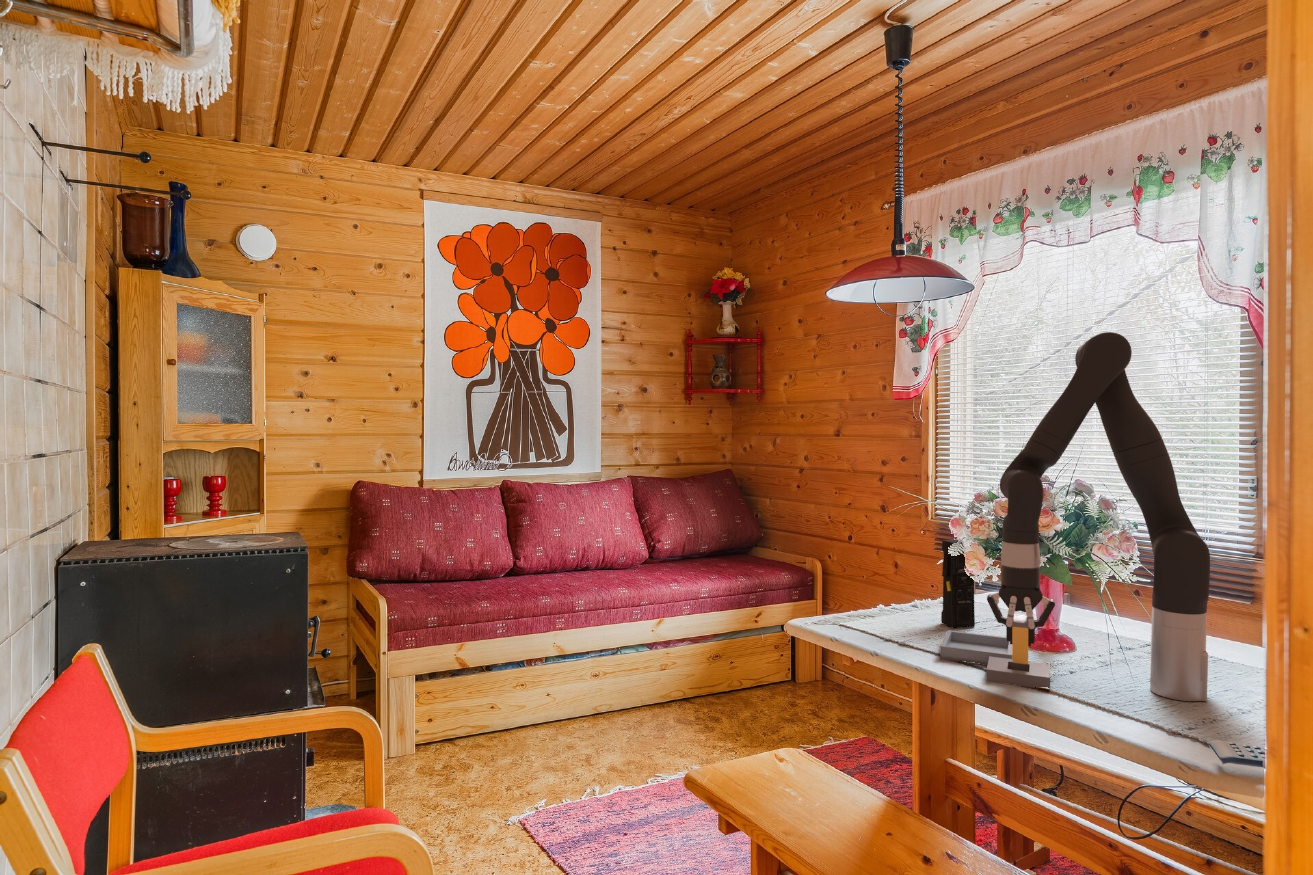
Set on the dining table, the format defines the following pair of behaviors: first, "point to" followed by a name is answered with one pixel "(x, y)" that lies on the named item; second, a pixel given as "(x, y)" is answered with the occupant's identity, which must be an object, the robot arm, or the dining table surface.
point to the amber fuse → (1020, 639)
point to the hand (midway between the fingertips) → (1020, 643)
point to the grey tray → (974, 647)
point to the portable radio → (956, 591)
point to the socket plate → (1018, 673)
